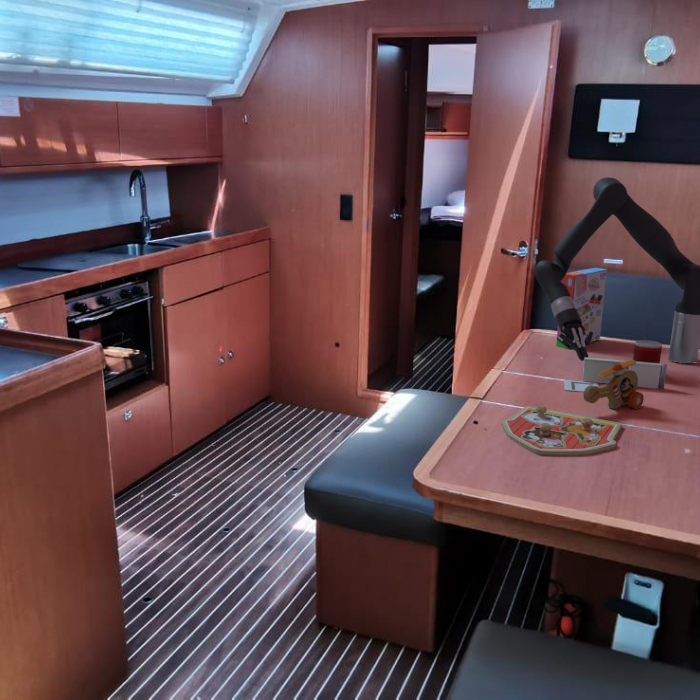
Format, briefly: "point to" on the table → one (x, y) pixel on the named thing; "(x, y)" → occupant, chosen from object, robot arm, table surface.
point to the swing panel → (597, 369)
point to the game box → (587, 298)
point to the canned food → (647, 351)
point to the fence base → (649, 374)
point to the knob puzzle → (560, 432)
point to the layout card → (577, 385)
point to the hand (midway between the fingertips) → (584, 359)
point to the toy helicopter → (617, 387)
